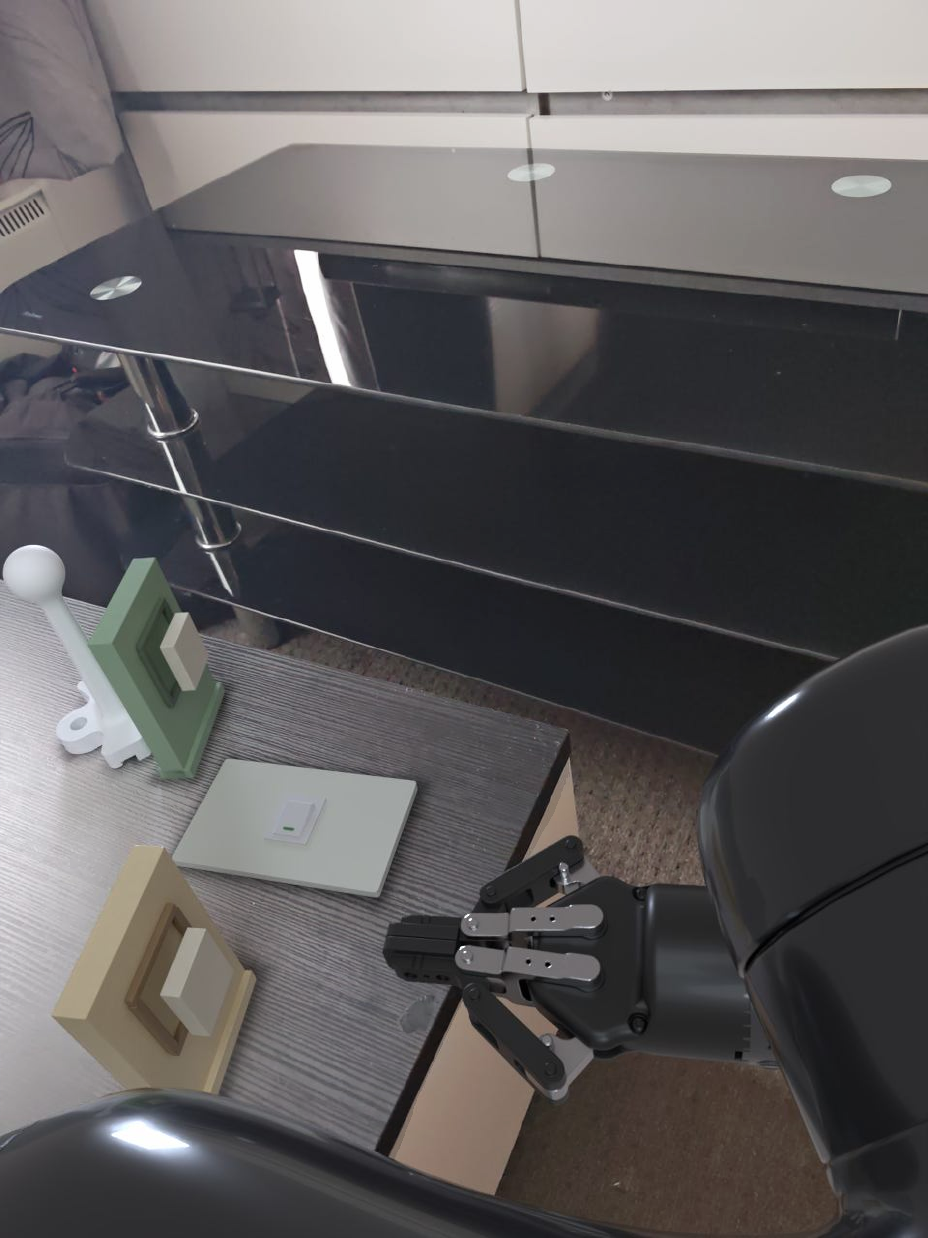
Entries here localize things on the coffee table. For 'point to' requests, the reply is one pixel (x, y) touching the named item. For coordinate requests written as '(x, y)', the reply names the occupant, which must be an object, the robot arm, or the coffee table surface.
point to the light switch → (299, 826)
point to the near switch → (197, 982)
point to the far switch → (184, 651)
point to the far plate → (154, 671)
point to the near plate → (149, 983)
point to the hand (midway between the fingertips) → (388, 946)
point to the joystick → (75, 661)
